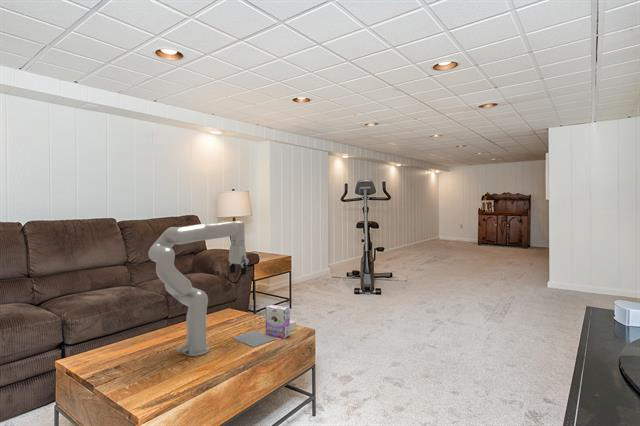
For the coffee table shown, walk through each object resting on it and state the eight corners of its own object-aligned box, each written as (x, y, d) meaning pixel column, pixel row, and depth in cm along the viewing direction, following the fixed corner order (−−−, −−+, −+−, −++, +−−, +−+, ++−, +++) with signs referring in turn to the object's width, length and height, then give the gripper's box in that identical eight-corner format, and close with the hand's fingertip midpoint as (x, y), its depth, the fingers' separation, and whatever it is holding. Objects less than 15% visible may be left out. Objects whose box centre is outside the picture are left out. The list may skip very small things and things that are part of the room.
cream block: (289, 331, 212) (289, 323, 212) (284, 330, 215) (284, 321, 215) (296, 329, 216) (296, 321, 216) (290, 328, 219) (290, 319, 219)
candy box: (290, 335, 205) (290, 307, 205) (284, 339, 200) (284, 309, 200) (271, 331, 213) (271, 303, 212) (265, 334, 208) (265, 306, 207)
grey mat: (253, 347, 188) (253, 346, 188) (231, 338, 201) (231, 337, 201) (276, 339, 199) (276, 338, 199) (255, 331, 213) (255, 330, 213)
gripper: (222, 242, 202) (223, 272, 202) (242, 244, 191) (242, 276, 192) (233, 241, 208) (233, 271, 208) (253, 243, 197) (253, 274, 197)
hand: (238, 273), depth 200 cm, fingers open, 9 cm apart
